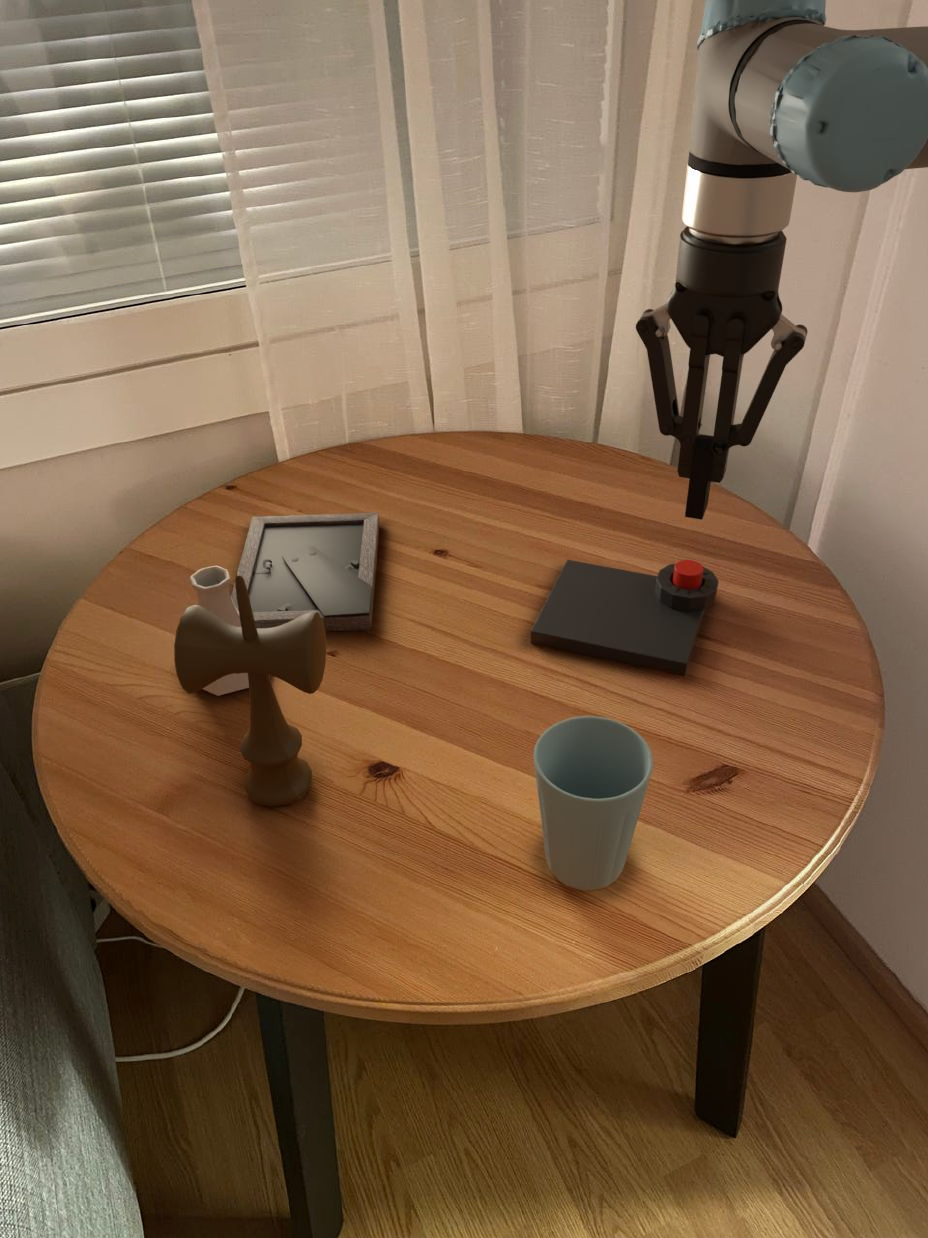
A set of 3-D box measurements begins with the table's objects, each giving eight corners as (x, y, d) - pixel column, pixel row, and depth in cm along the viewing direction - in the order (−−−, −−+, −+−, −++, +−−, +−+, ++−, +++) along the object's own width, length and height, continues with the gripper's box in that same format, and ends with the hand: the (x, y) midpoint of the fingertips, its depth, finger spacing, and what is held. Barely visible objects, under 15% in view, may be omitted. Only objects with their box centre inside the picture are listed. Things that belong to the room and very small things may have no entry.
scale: (718, 594, 96) (722, 568, 94) (693, 678, 86) (698, 651, 85) (568, 566, 100) (569, 541, 98) (530, 643, 91) (530, 616, 89)
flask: (174, 666, 89) (149, 574, 83) (245, 633, 93) (227, 542, 87) (213, 708, 85) (191, 614, 79) (287, 671, 88) (270, 578, 82)
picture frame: (371, 629, 93) (379, 524, 107) (369, 612, 92) (378, 508, 106) (227, 634, 93) (254, 529, 107) (223, 617, 91) (251, 513, 106)
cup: (542, 809, 75) (546, 707, 69) (645, 828, 73) (659, 725, 67) (520, 891, 69) (522, 787, 63) (631, 913, 68) (645, 810, 61)
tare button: (703, 577, 94) (705, 562, 92) (698, 593, 92) (700, 577, 91) (675, 572, 94) (677, 557, 93) (670, 588, 92) (672, 572, 91)
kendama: (228, 756, 80) (179, 548, 68) (347, 760, 80) (319, 550, 67) (208, 814, 75) (151, 601, 63) (334, 819, 75) (302, 604, 63)
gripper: (832, 220, 73) (779, 501, 87) (655, 207, 77) (631, 478, 91) (823, 251, 68) (768, 546, 82) (632, 235, 71) (611, 519, 86)
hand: (696, 510), depth 86 cm, fingers closed
